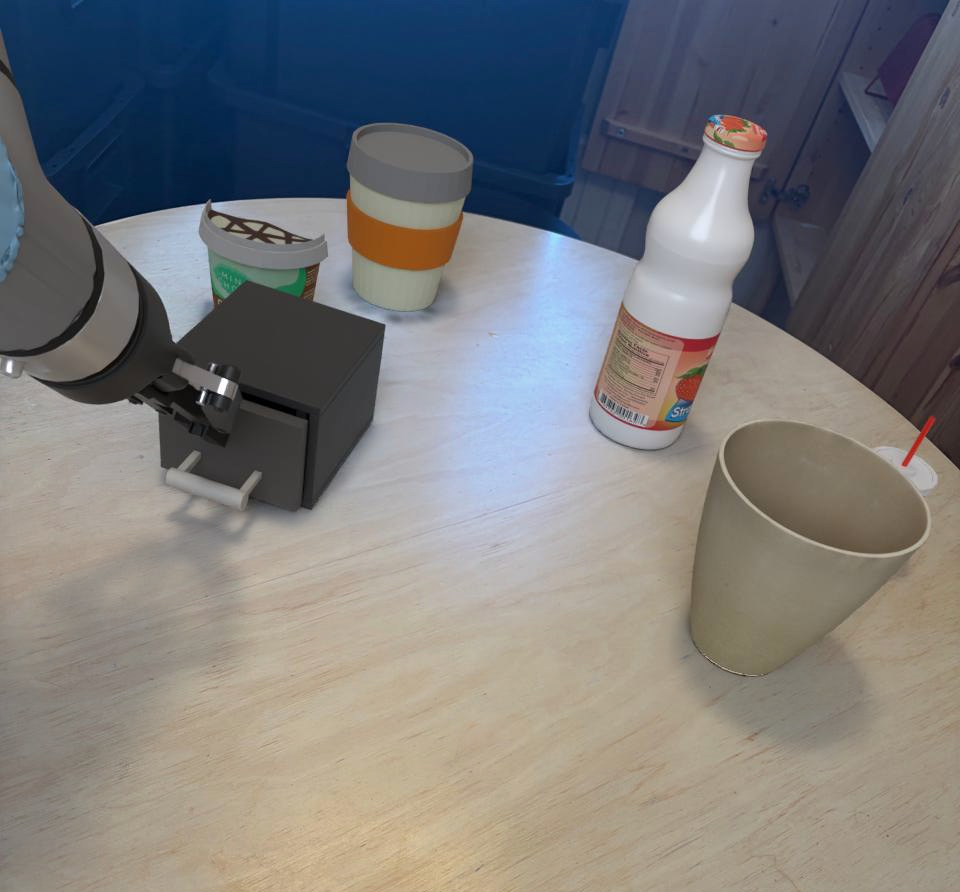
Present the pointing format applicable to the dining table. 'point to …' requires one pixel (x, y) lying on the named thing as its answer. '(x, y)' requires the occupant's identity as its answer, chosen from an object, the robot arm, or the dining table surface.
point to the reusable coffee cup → (404, 211)
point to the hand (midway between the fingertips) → (221, 427)
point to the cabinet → (299, 367)
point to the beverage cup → (913, 462)
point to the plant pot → (795, 540)
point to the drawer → (241, 456)
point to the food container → (258, 255)
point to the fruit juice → (679, 292)
